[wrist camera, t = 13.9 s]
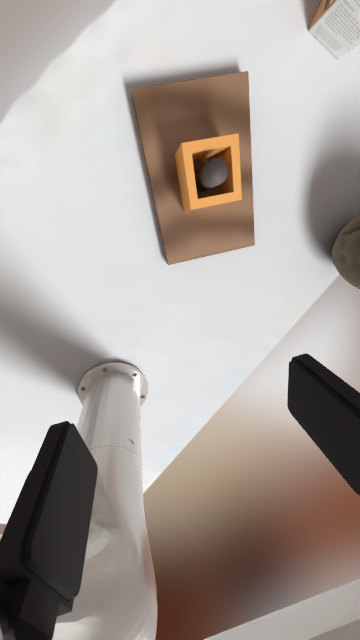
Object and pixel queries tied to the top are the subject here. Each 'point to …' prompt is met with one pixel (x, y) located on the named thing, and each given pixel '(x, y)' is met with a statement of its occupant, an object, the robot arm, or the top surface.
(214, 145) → the orange square ring
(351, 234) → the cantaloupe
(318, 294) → the top surface
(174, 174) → the board
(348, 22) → the small box
